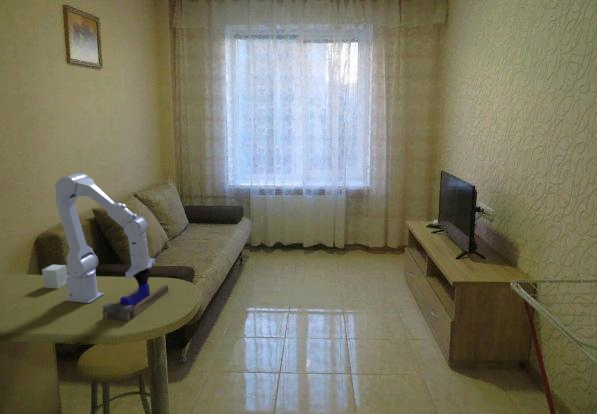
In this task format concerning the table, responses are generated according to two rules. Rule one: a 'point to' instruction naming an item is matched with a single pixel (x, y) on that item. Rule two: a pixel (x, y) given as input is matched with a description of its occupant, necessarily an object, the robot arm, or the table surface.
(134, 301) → the cable clip
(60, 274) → the skincare box
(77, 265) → the robot arm
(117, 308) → the cable track
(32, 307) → the table surface
